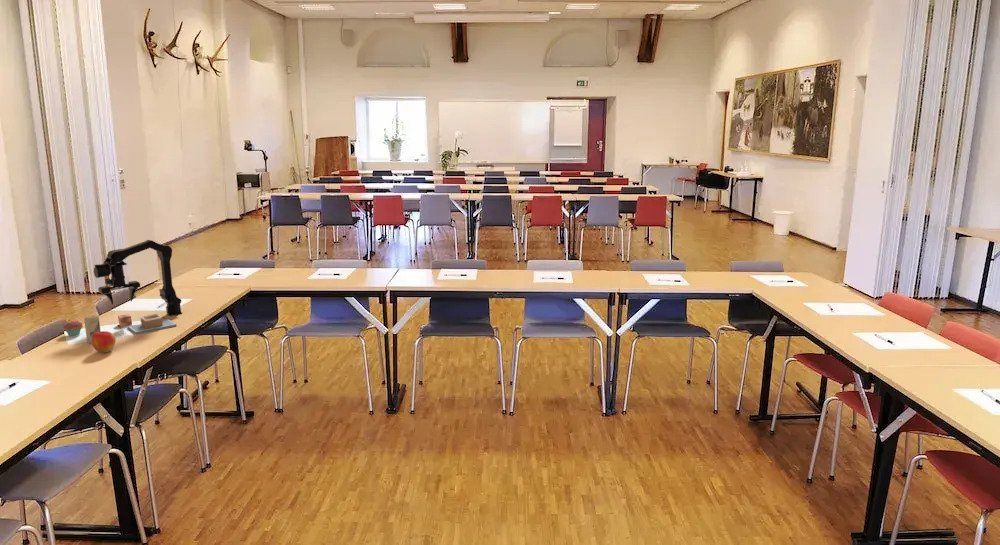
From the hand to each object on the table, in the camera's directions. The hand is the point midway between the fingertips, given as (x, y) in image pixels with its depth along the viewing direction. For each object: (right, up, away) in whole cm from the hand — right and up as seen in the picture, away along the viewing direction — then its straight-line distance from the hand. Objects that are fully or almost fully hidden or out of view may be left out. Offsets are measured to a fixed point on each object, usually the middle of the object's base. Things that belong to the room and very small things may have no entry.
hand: (121, 302), depth 352 cm
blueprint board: (+17, -13, -2) cm, 22 cm away
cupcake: (-16, -16, -14) cm, 27 cm away
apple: (+15, -22, -40) cm, 47 cm away
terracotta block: (+1, -12, +2) cm, 12 cm away
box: (+1, -18, -25) cm, 31 cm away
